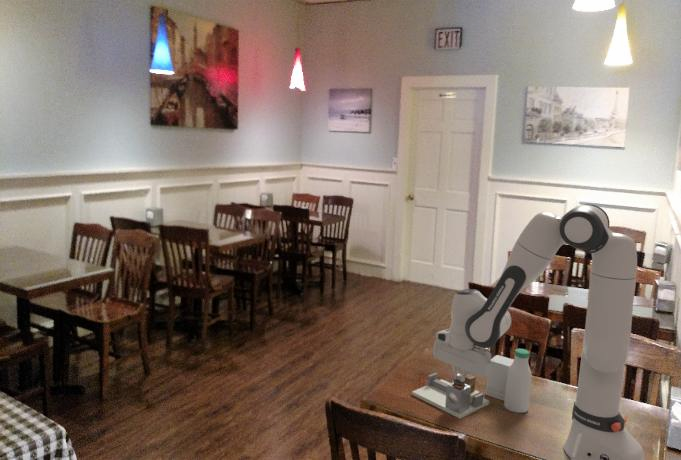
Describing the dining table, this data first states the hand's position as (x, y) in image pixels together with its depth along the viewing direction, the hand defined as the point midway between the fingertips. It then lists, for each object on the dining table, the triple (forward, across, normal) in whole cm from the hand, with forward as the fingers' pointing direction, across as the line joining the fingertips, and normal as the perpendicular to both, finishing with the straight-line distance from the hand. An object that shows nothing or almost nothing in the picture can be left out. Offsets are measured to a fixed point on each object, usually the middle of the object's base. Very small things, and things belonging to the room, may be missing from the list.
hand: (459, 380), depth 178 cm
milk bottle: (+11, -11, -18) cm, 24 cm away
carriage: (+9, +1, -7) cm, 12 cm away
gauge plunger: (+8, 0, 0) cm, 8 cm away
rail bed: (+11, +6, -5) cm, 13 cm away
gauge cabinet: (+11, 0, 0) cm, 11 cm away
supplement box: (+11, -2, -22) cm, 25 cm away
